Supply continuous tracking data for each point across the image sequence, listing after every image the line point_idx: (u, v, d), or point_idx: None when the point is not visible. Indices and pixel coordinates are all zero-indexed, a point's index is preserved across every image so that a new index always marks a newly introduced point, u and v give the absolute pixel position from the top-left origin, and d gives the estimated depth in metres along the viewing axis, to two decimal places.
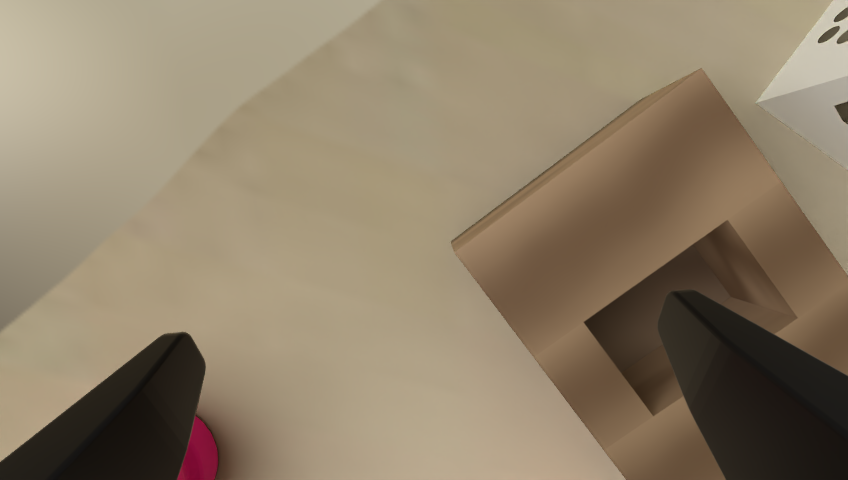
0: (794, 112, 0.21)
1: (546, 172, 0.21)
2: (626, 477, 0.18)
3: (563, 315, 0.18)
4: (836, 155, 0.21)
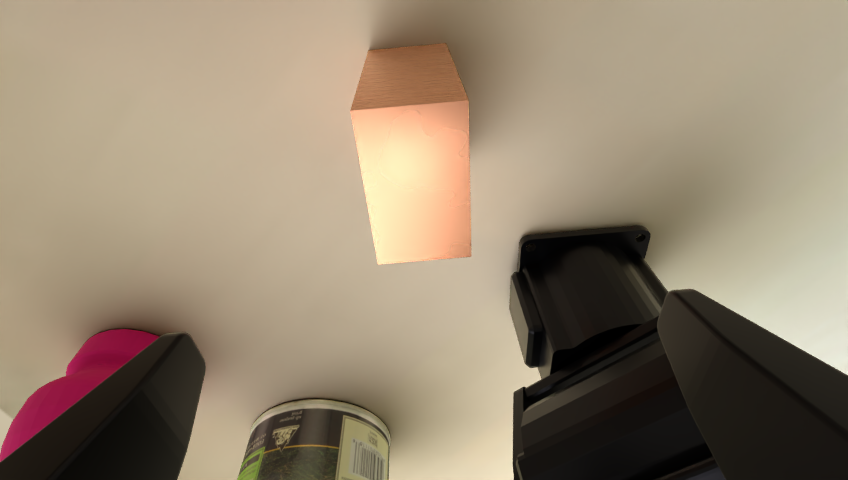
0: None
1: None
2: None
3: None
4: None
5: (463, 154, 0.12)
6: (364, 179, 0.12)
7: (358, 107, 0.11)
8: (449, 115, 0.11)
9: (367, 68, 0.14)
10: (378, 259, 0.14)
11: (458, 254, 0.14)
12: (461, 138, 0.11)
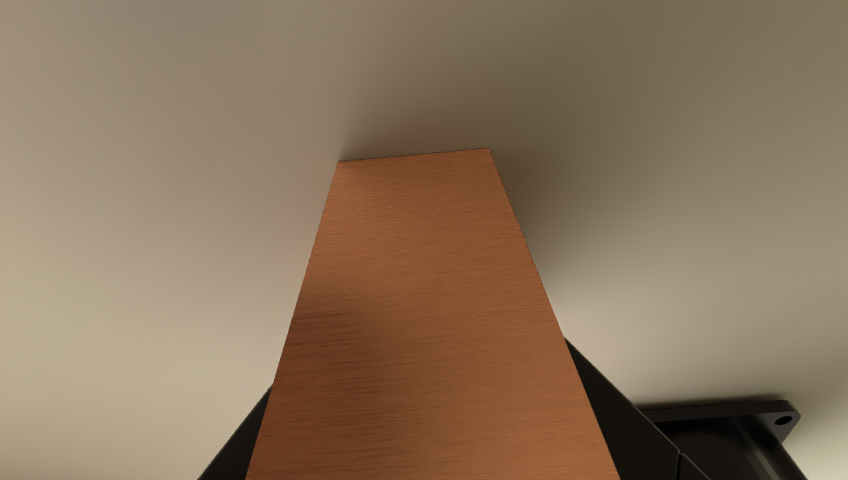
0: None
1: None
2: None
3: None
4: None
5: None
6: None
7: None
8: None
9: (323, 244, 0.06)
10: None
11: None
12: None
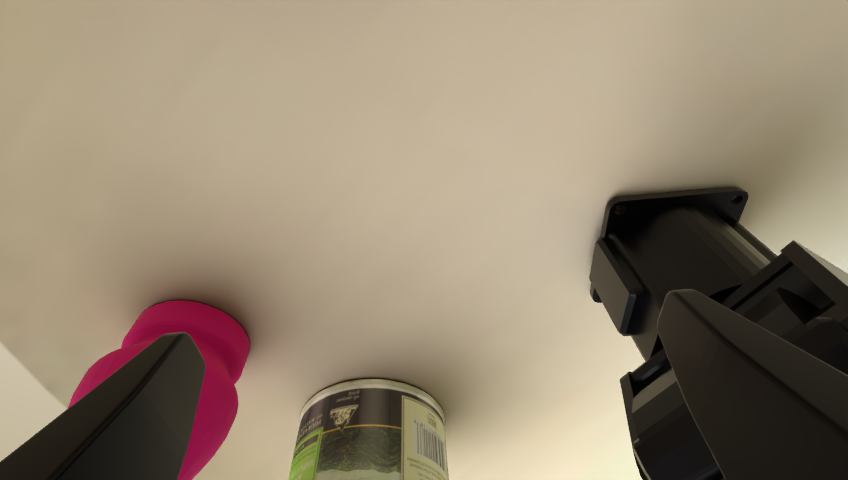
0: None
1: None
2: None
3: None
4: None
5: None
6: None
7: None
8: None
9: None
10: None
11: None
12: None
